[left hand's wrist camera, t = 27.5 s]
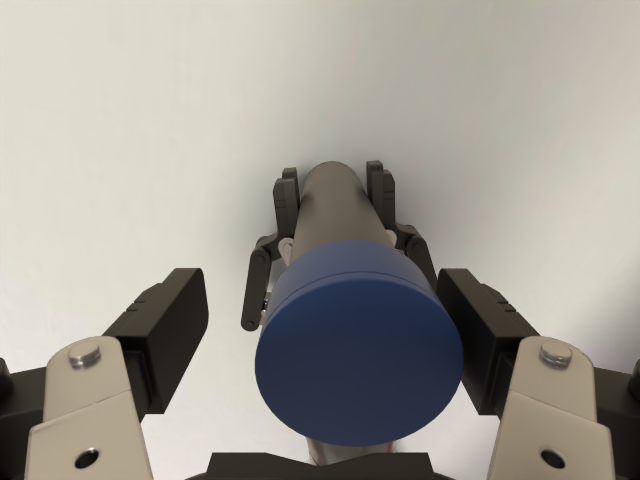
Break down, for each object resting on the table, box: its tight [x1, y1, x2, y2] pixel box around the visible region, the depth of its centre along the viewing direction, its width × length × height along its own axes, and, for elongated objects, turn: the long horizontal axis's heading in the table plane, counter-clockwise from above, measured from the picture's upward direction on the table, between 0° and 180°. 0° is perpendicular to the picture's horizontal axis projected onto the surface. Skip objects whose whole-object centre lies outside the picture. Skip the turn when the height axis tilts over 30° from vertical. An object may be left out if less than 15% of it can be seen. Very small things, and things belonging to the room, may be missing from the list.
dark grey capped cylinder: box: [289, 161, 396, 265], centre depth 18 cm, size 4×4×19 cm
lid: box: [255, 240, 464, 447], centre depth 10 cm, size 5×5×2 cm
